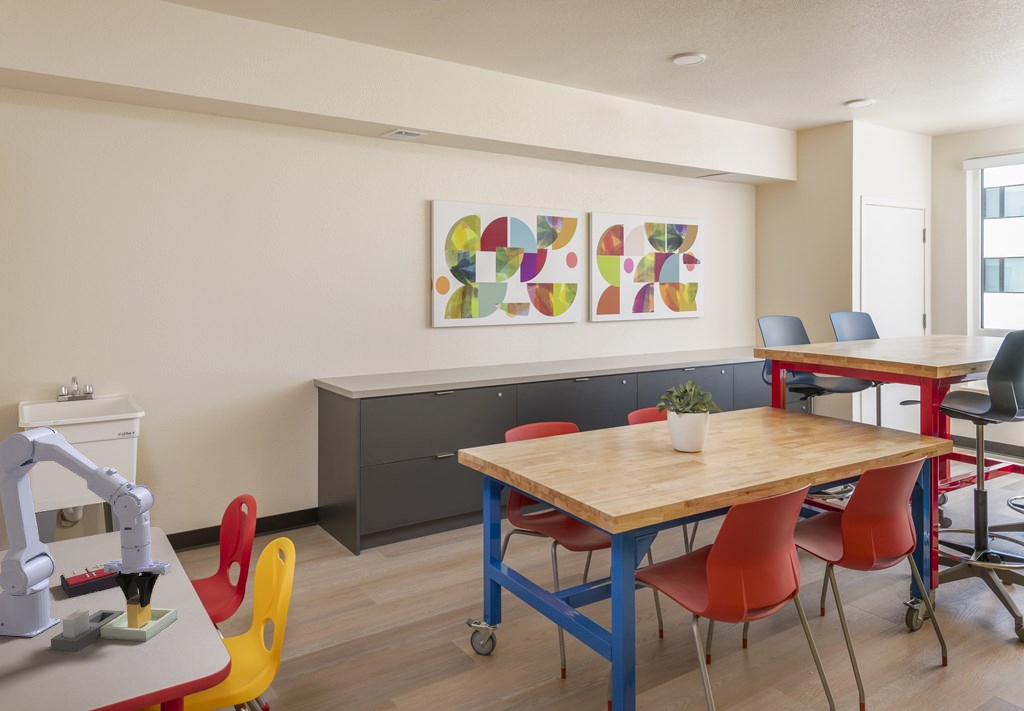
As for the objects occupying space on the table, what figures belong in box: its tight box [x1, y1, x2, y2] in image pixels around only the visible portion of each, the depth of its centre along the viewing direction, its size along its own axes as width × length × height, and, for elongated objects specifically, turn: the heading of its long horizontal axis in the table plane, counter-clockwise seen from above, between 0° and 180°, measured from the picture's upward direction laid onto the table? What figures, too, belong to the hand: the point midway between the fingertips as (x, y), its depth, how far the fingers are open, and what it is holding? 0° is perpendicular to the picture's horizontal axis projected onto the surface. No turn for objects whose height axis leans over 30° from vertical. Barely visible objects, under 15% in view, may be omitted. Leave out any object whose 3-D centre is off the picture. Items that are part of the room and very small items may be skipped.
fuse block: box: [50, 609, 125, 652], centre depth 151 cm, size 6×14×2 cm, turn 171°
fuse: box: [61, 609, 90, 638], centre depth 148 cm, size 2×4×6 cm, turn 171°
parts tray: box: [100, 607, 178, 642], centre depth 154 cm, size 11×11×2 cm
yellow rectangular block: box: [126, 592, 152, 628], centre depth 154 cm, size 2×4×6 cm, turn 171°
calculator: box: [59, 557, 122, 599], centre depth 180 cm, size 11×4×15 cm
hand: (139, 605), depth 154 cm, fingers closed on yellow rectangular block, 2 cm apart
